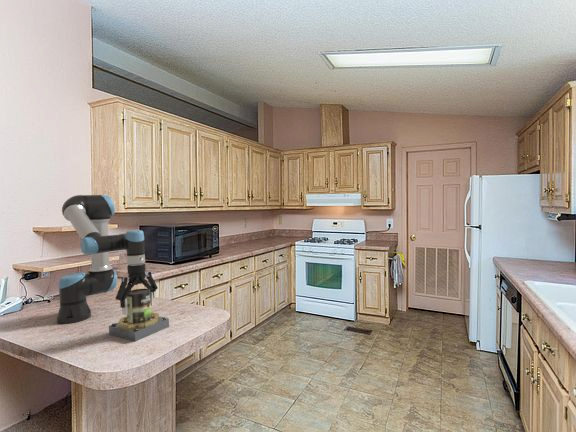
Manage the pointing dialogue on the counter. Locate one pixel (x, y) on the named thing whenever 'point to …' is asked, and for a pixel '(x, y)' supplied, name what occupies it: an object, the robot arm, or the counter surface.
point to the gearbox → (138, 327)
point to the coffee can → (138, 306)
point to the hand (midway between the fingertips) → (138, 309)
